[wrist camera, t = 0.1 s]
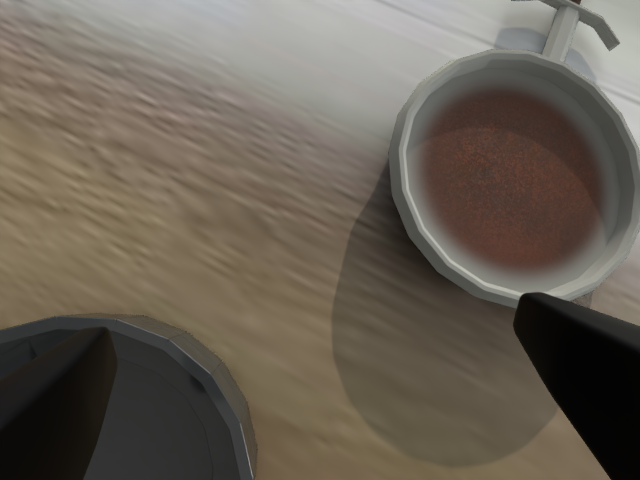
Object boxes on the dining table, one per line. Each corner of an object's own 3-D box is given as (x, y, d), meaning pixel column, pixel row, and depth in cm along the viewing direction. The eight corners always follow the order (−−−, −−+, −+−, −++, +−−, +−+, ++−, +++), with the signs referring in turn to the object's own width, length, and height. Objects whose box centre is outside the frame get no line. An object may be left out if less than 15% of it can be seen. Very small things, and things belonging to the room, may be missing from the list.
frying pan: (708, -10, 28) (617, 358, 22) (667, 20, 31) (577, 352, 25) (500, -117, 27) (347, 232, 21) (479, -77, 30) (338, 241, 24)
